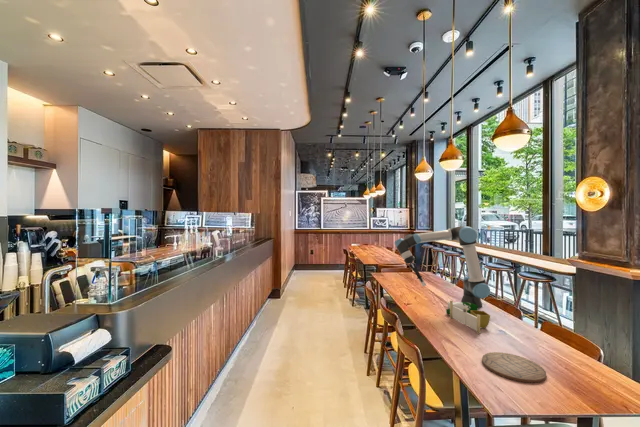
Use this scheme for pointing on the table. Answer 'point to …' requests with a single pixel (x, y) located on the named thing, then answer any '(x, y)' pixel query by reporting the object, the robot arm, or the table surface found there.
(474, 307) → the milk carton
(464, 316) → the gate
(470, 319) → the fence
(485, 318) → the flower pot
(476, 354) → the table surface
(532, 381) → the trivet
